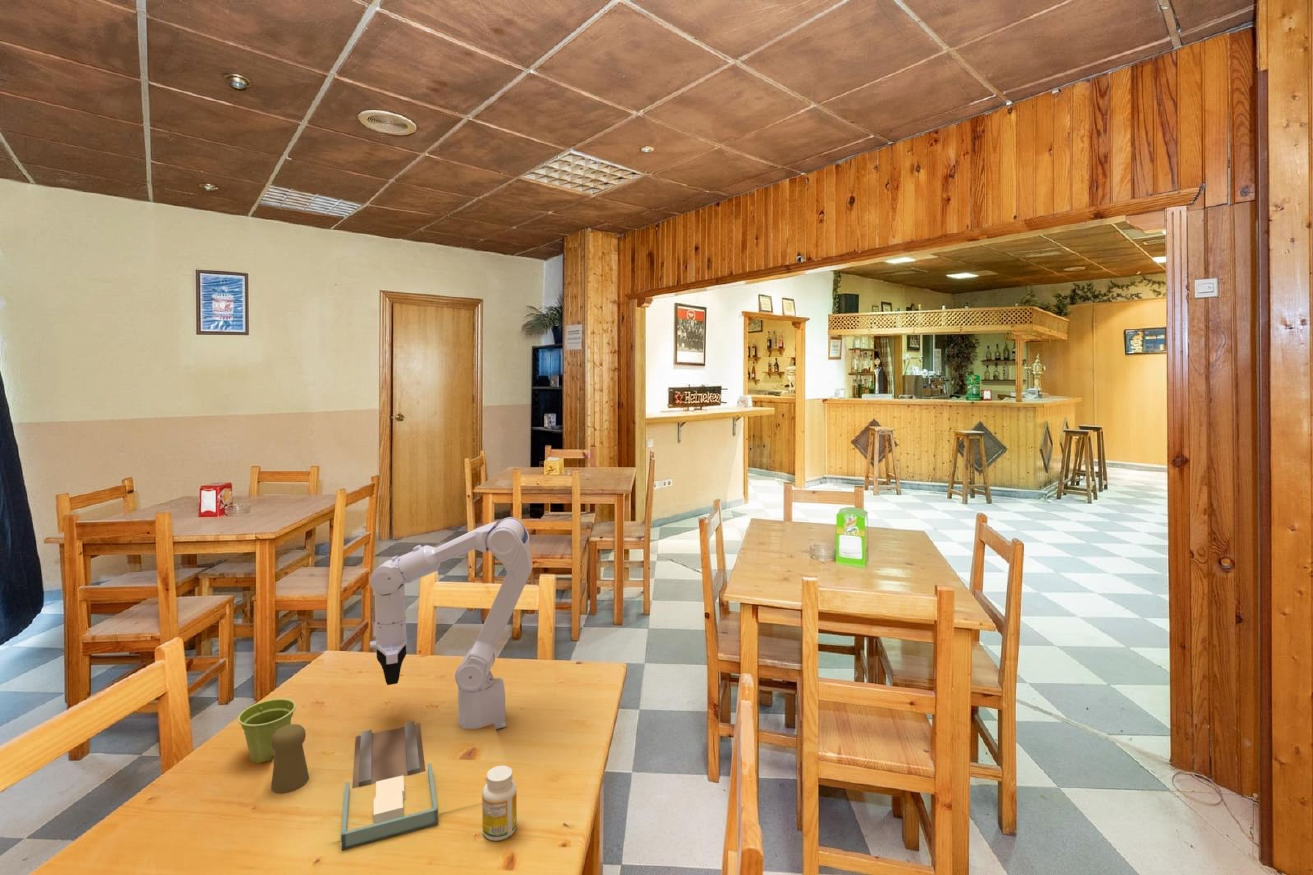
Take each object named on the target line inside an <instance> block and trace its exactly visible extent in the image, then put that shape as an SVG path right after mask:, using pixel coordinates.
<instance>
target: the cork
mask: <svg viewBox="0 0 1313 875" xmlns="http://www.w3.org/2000/svg"><path fill="white" fill-rule="evenodd" d="M306 737H307V735H306V730H305V728H304V727H303V726H302V725H301V724H298V723H297V724H296V723H291V724H290V725H286V726H283V727H281V728H279V729H278V730H277V731H275V733H274V734H273V736H272V739H271V746H272V748H273V749H274V750H275V756H274V760H273V769H272V778H271V784H270V785H271V786H270V787H271V788H270V789H271V790H270V791H272V792H273V793H275V794H281V795H283V794H288V793H291V792H295V791H297V790H299V789H301V788H302V787H304V786H305V785H307V783H308V782H309V780H310V775H309V770H308V765H307V761H306V755H305V750H304V745H303V744H304V743H305V740H306Z"/></svg>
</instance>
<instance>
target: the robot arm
mask: <svg viewBox="0 0 1313 875" xmlns="http://www.w3.org/2000/svg"><path fill="white" fill-rule="evenodd" d="M473 550H476V551H479V552H481V553H483V554H487V553H488V552H490V553H491V554H492V555H493V556H494V557H495V558H496V559H497V560H499V562H500V563H502V566H503V568H504V570H505V571H506V574H505V576H504V579H503V581H502V583H501V585H500V588H499V590H498V591H497V594H496V597H495V599H494V600H493V603H492V605H491V606H490V609H489V611H488V614H487V615H486V618H485V620H484V622H483V625H482V627H481V629H480V631H479V633H478V636H477V638H476V640H475V641H474V644H473V645H472V646H470V647H469V648H468V650H466V653H465V656H464V658H463V660H462V661H461V663H460V665H459V666H458V667H457V669H456V671H455V675H454V678H455V680H454V681H455V682H456V684H457V695H458V696H457V697H458V698H457V700H458V703H457V704H458V706H457V708H458V725H459V726H460V727H461V728H463V729H465V730H479V729H483V728H485V727H488V726H491V725H493V726H494V729H495V730H498V729H503V728H506V727H507V723H506V722H507V721H506V690H505V689H506V688H505V683H504V679H503V678H502V677H494V675H493V673H492V671H491V669H492V667H493V666H494V664H495V661H496V649H497V647H498V645H499V642H500V640H501V638H502V636H503V634H504V631H505V629H506V627H507V625H508V623H509V621H510V619H511V616H512V615H513V612H514V611H515V608H516V605H517V603H518V602H519V599H520V597H521V595H522V592H523V591H524V588H525V586H526V584H527V582H528V579H529V577H530V575H531V573H532V571H533V568H534V567H533V566H534V565H533V558H532V557H533V556H532V552H531V545H530V533H529V532H528V530H527V528H526V527H525V525H524V523H523V522H522V521H521V520H520V519H518V518H515V517H512V516H509V517H505V518H502V519H501V520H500V521H499V522H498V521H497V520H496V521H492V522H490V523H487V524H484V525H482V526H479V527H477V528H474V529H473V530H471V531H468V532H467V533H464V534H463V535H460V536H458V537H455V538H453V539H451V540H449V541H447V542H445V543H443V544H441V545H439V546H437V547H434V546H431V545H427V544H426V545H424V546H422V545H421V544H418V545H416V546H414V547H413V548H412V551H409V552H407V553H405V554H403V555H400V556H398V555H395V556H393V557H391V559H388V560H386V561H384V563H382V564H381V565H379V566H378V567H376V569H374V570H373V571H372V573H371V574H370V576H369V585H370V588H371V589H372V590H373V591H374V616H375V617H374V618H375V622H374V623H375V640H372V641H370V642H369V648H370V649H375V648H376V660H377V661H378V663H379V664H380V666H381V668H382V672H383V676H384V681H385V683H386V685H387V686H391V685H395V684H396V685H398V683H399V679H400V676H401V669H402V665H403V662H404V660H405V657H406V656H407V644H408V636H407V626H406V625H407V622H406V620H407V619H406V618H407V617H406V595H405V594H406V593H405V592H406V591H405V584H410V583H413V582H414V581H417V580H420V579H422V578H424V577H426V576H428V575H430V574H433V573H435V572H437V571H438V570H439V568H440V566H441V563H443V562H445V561H448V560H451V559H453V558H456V557H458V556H461V555H463V554H466V553H468V552H471V551H472V552H473Z"/></svg>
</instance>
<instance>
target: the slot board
mask: <svg viewBox="0 0 1313 875" xmlns="http://www.w3.org/2000/svg"><path fill="white" fill-rule="evenodd" d="M403 725H404V726H402V727H396V728H391V729H386V730H383V731H382V730H381V731H377V732H373V730H372V729H368V730H363V731H360V735H358V736H355V743H354V758H353V769H352V770H353V773H352V785H351V786H352V787H351V788H352V789H355V788H356V789H357V788H359V787H364V786H369V785H372V784H376V782H377V781H381V780H385V779H390V778H394V777H398V776H402V775H403V776H404V777H406V776H411V775H414V774H420V773H423V772H426V764H425V755H424V748H423V747H424V746H423V740H422V738H423V737H422V729H421V723H416V721H415V720H413V721H408V722H407V721H406V722H404V724H403Z"/></svg>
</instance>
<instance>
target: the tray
mask: <svg viewBox="0 0 1313 875" xmlns="http://www.w3.org/2000/svg"><path fill="white" fill-rule="evenodd" d="M427 773H428V781H429V783H428V784H429V791H430V796H431V797H430V799H431V804H432V805H431V807H432V808H429V809H426V810H422V811H418V812H415V813H411V814H407V815H403V817H399V818H395V819H391V820H387V821H383V822H380V823H376V824H374V823H373V824H369V825H364V826H361V827H357V828H354V829H349V830H347V829H348V820H349V819H348V817H349V806H350V805H349V803H350V791H351V790H350V781H348V782H345V784H344V796H343V809H342V820H341V821H342V822H341V829H340V831H341V832H340V840H341V841H340V842H341V843H340V845H341V851H344V850H345V851H346V850H348V849H351V848H355V847H359V846H363V845H367V844H370V843H373V842H377V841H382V840H385V839H388V838H392V837H396V836H399V835H403V834H407V833H410V832H414V831H418V830H422V829H426V828H429V827H432V826H436V825H439V815H438V814H439V808H438V801H437V796H436V793H437V792H436V787H435V786H436V785H435V780H434V772H433V764H432V762H429V763H427Z"/></svg>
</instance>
